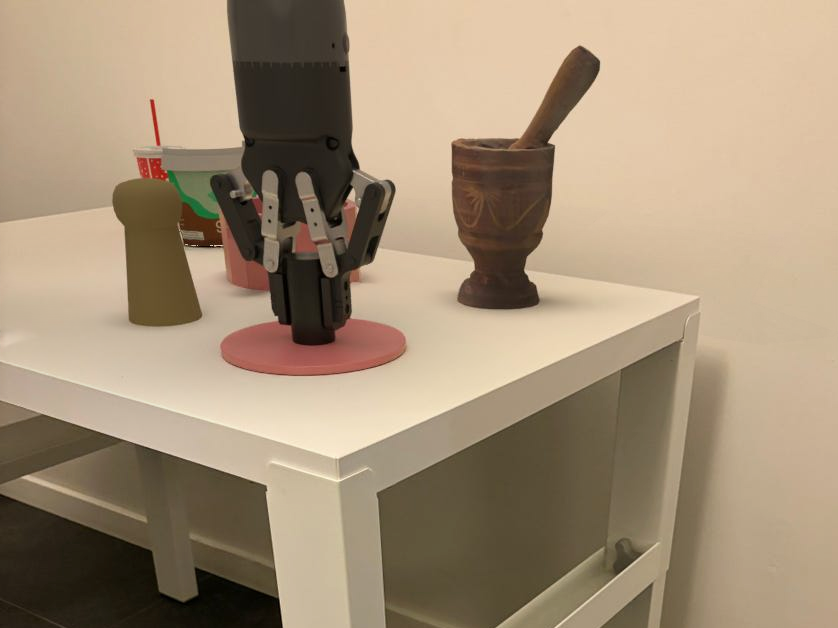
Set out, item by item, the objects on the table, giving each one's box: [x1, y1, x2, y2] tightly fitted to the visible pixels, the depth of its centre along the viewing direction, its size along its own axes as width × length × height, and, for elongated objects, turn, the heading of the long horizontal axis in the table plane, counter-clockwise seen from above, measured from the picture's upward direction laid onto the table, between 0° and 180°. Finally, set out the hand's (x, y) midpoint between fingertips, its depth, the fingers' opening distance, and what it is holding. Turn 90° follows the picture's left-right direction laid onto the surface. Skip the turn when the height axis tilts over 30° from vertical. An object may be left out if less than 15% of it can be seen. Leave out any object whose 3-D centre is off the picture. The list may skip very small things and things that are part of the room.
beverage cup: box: [132, 98, 187, 230], centre depth 117 cm, size 6×6×14 cm
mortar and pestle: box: [451, 44, 601, 311], centre depth 83 cm, size 12×9×20 cm
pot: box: [218, 196, 361, 292], centre depth 94 cm, size 13×18×7 cm
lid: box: [220, 251, 407, 376], centre depth 72 cm, size 14×14×7 cm
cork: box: [111, 177, 203, 328], centre depth 79 cm, size 6×6×11 cm
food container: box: [161, 140, 258, 246], centre depth 111 cm, size 12×6×10 cm, turn 143°
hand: (313, 324), depth 73 cm, fingers closed on lid, 3 cm apart
